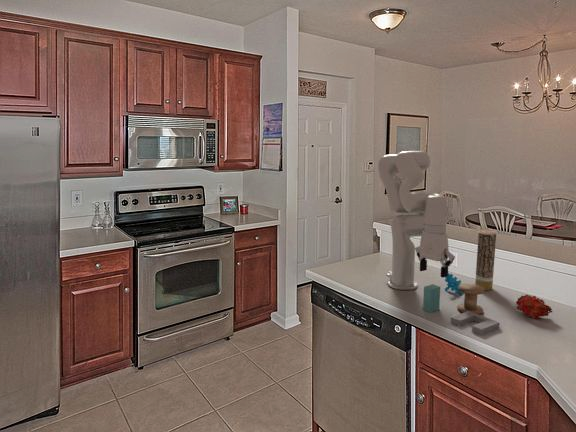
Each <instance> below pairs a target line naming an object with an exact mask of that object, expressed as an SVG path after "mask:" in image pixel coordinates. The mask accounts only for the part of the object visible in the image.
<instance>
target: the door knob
mask: <svg viewBox="0 0 576 432" xmlns="http://www.w3.org/2000/svg"><path fill="white" fill-rule="evenodd" d="M458 289H459V291H461V292H462V294H464V300H463V303H459V304H457V305H456V308H457V309H456V310H457V311H458V312H459V313H460V314H462V313H465V312H468V311H470V312H473V313H476V314H478V315H481V316H482V314H483V313H484V309H483V306H479V305H478V295H483V294H485V291H486V290H485V289H484V288H483V287H482V286H479V285H475V283H461V284H460V285H459V287H458ZM459 291H458V292H459Z"/></svg>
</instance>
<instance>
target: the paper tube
mask: <svg viewBox="0 0 576 432" xmlns="http://www.w3.org/2000/svg"><path fill="white" fill-rule="evenodd" d="M477 237H478V238H477V239H478V240H477V250H476V251H477V254H476V266H475V267H476V268H475V281H474V282H475V283H474V284H475V285H479V286H482V287H483V288H484V289H485V290H484V291H491V290H492V289H493V283H494V282H493V281H494V268H495V258H496V257H495V256H496V255H495V254H496V243H497V231H495V230H489V229H481V230H480V229H479V230H478V236H477Z"/></svg>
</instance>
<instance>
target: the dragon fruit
mask: <svg viewBox="0 0 576 432" xmlns="http://www.w3.org/2000/svg"><path fill="white" fill-rule="evenodd" d="M545 302H546V301H544V300H543V299H541V298H539V297H537V296H536V295H533V296H532V295H531V294H530V295H529V294H525V295H521V296H520V297H518V298H517V300H516V301H515V303H516V305H517V306H516V310H517V311H521V312H522V313H523V314H524V316H525V317H526V318H529V317H531V318H534V319H536V320H538V321H539V320H544V318H543V317H548V316H549V314H550V313H553V308H551V306H549V304H545Z"/></svg>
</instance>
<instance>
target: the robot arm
mask: <svg viewBox="0 0 576 432" xmlns="http://www.w3.org/2000/svg"><path fill="white" fill-rule="evenodd" d="M430 164H431V157H430V156H429V154H428V153H427V151H423V150H408V151H407V150H406V151H405V150H404V151H401V152H399V153H397V154H385V155H383V156H381V157H380V158H379V160H378V163H377V170H378V174H379V178H380V179H381V180H380V181H381V182H382V184H383V186H384V189H385V191H386V196H387V201H388V204H389V205H388V206H389V209H390V212H391V213H392V214H394V215H396V216H394V217H393V218H392V219H391V222H390V229H391V236H392V254H391V255H392V259H391V270H390V271H388V272H387V274H386V277H387V278H389V280H388V281H387V285H388V286H389V287H390V288H393V289H396V290H401V291H410V290H415V289H417V288H418V282H417V281H415V261H416V259H415V258H416V256H417V257H418V261H419V271H420V272H424V271H427V270H428V269H427V267H428V260H431V261H435V262H440V264H441V267H440V277H441V278H445V277H447V276H448V273H449V267H450V266H451V265H452V264H453V263H454V260H455V259H456V256H455V255H454V254H453V253H451V252H450V251H449V238H448V233H447V217H448V216H447V214H448V213H447V212H448V210H447V209H448V198H447V197H446V196H444V195H441V194H439V193H437V192H411V191H410V190H412V189H414V188H416V187H418V186H420V185H421V184H422V183H423V182H424V179H425V173H424V172H425V171H427V170H428V169H429V168H430ZM396 174H399V175H400V177H401V178H400V177H399V176H398V175H396ZM414 237H420V241H419V246H417V247H416V246H415V243H414V242H413V241H412V240H411V238H414Z"/></svg>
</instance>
